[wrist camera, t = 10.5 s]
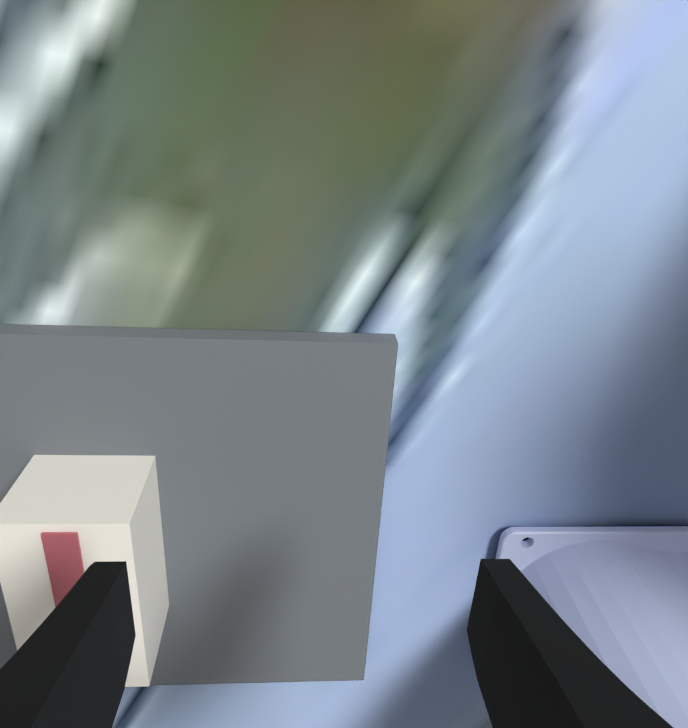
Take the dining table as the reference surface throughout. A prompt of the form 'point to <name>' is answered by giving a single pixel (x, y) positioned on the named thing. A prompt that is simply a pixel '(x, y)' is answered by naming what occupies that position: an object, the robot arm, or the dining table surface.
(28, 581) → the white rectangular block
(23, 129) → the dining table surface
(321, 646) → the slate mat
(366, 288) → the dining table surface
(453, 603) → the dining table surface
